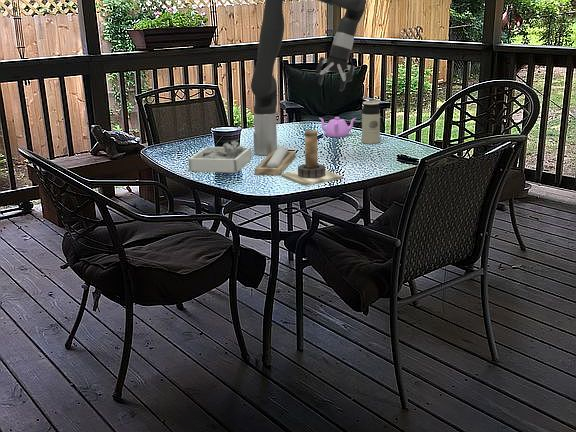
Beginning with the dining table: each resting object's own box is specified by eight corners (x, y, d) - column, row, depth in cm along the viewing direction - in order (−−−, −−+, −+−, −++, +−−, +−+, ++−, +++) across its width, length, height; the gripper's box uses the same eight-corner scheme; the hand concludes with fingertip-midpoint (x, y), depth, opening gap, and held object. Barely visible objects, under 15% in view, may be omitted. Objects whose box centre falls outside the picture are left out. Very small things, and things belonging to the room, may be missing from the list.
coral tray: (189, 171, 254) (188, 158, 252) (207, 158, 274) (206, 146, 273) (236, 172, 250) (236, 159, 249) (251, 159, 271) (250, 147, 269)
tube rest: (254, 174, 246) (254, 168, 246) (273, 156, 275) (272, 150, 274) (279, 175, 245) (279, 169, 244) (295, 156, 273) (295, 151, 272)
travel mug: (361, 140, 301) (361, 101, 295) (378, 140, 300) (379, 100, 295) (362, 144, 293) (362, 103, 288) (380, 144, 293) (381, 103, 287)
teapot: (318, 135, 316) (318, 117, 313) (341, 131, 323) (341, 113, 320) (333, 139, 306) (333, 120, 303) (356, 135, 313) (356, 116, 310)
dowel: (304, 176, 239) (303, 132, 234) (306, 173, 243) (305, 130, 238) (316, 176, 238) (316, 132, 233) (318, 173, 242) (318, 130, 237)
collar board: (305, 185, 230) (305, 174, 229) (281, 176, 243) (281, 165, 242) (342, 178, 238) (342, 167, 237) (317, 170, 251) (317, 159, 250)
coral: (248, 164, 263) (246, 139, 260) (233, 172, 251) (232, 146, 248) (209, 161, 269) (208, 137, 266) (194, 169, 257) (192, 144, 254)
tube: (280, 163, 247) (289, 148, 271) (267, 158, 247) (277, 144, 271) (276, 176, 249) (285, 160, 272) (263, 171, 249) (273, 156, 273)
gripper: (322, 40, 249) (310, 82, 253) (357, 50, 246) (345, 92, 249) (327, 42, 256) (315, 83, 260) (361, 51, 253) (349, 93, 256)
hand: (330, 88), depth 255 cm, fingers open, 8 cm apart
